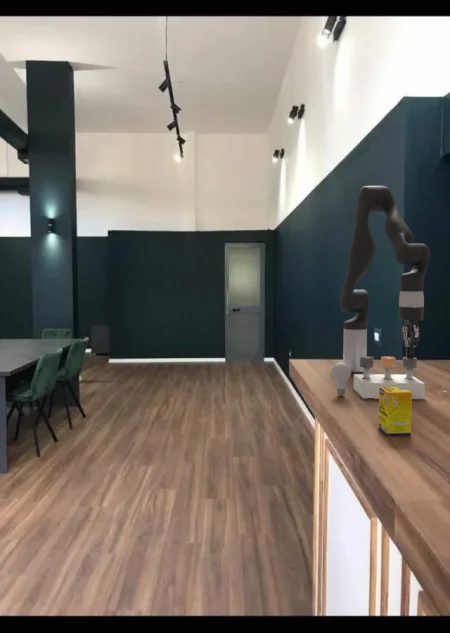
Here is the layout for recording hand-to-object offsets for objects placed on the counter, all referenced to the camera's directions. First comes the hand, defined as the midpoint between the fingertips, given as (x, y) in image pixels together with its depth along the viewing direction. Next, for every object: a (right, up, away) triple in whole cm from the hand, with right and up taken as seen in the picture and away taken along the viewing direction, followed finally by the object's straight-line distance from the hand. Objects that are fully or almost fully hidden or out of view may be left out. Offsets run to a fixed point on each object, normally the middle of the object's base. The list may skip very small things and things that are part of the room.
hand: (409, 358), depth 160 cm
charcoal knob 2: (0, -9, +1) cm, 8 cm away
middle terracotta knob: (-7, -8, +1) cm, 11 cm away
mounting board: (-7, -12, +1) cm, 14 cm away
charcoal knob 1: (-14, -8, +1) cm, 16 cm away
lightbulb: (-23, -12, -2) cm, 26 cm away
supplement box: (-19, -15, -39) cm, 46 cm away
